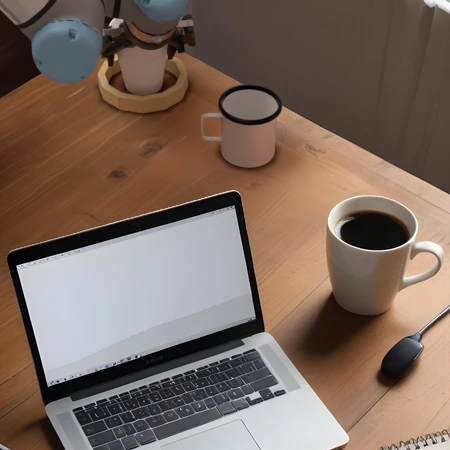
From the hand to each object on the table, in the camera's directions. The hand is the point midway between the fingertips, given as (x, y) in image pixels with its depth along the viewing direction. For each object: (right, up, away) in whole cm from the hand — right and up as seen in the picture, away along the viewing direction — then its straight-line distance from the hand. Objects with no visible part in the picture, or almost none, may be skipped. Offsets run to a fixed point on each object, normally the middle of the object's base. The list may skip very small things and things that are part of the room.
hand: (139, 54), depth 139 cm
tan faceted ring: (+1, -5, +1) cm, 5 cm away
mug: (+16, -18, -9) cm, 26 cm away
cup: (+1, -5, +1) cm, 5 cm away
